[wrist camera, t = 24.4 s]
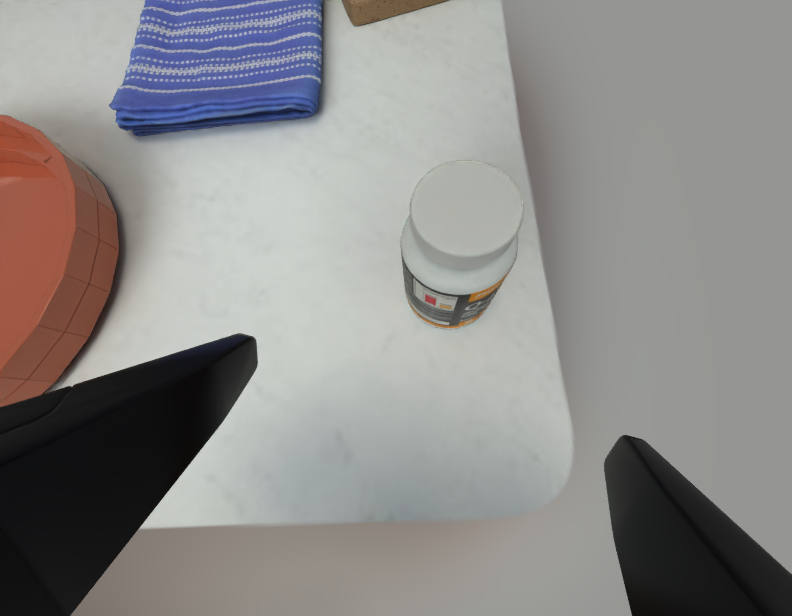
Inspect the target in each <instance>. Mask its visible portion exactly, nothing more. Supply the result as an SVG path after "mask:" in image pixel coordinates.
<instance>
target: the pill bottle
mask: <svg viewBox="0 0 792 616" xmlns="http://www.w3.org/2000/svg"><path fill="white" fill-rule="evenodd" d="M522 218H523V201H522V197H521V195H520V192H519V190H518V188H517V186H516V185H515V183H514V182H513V181H512V180H511V179H510V178H509V177H508V176H507V175H506V174H505V173H504V172H502V171H501V170H499V169H497V168H496V167H494V166H492V165H490V164H487V163H483V162H479V161H472V160H458V161H452V162H448V163H445V164H442V165H440V166H438V167H436V168H434V169H432V170H431V171H430V172H428V173H427V174H426V175H425V176H424V177H423V178H422V179H421V180H420V181H419V183H418V184H417V186H416V187H415V189H414V191H413V194H412V197H411V202H410V215H409V217H408V219H407V221H406V223H405V225H404V228H403V231H402V236H401V253H402V263H403V273H404V283H405V292H406V297H407V300H408V303H409V305H410V307H411V309H412V310H413V312H414V313H415V314H416V315H417V316H418V317H419V318H420V319H421V320H422V321H424V322H425V323H427V324H429V325H431V326H434V327H437V328H442V329H457V328H461V327H464V326H466V325H469V324H471V323H472V322H474V321H475V320H477V319H478V318H479V317H480V316H481V315H482V314H483V313H484V311H485V310H486V308H487V307H488V305H489V304H490V302H491V300H492V299H493V297H494V295H495V294H496V292H497V290H498V289H499V288H500V286H501V284H502V282H503V281H504V279H505V277H506V276H507V274H508V273H509V271H510V269H511V268H512V266H513V264H514V262H515V259H516V256H517V249H518V235H517V232H518V230H519V228H520V226H521V222H522Z"/></svg>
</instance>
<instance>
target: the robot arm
mask: <svg viewBox="0 0 792 616" xmlns="http://www.w3.org/2000/svg"><path fill="white" fill-rule="evenodd" d="M257 364H258V358H257V343H256V339H255V338H254V337H253V336H249V335H245V334H241V333H238V334H235V335H232V336H229V337H225V338H222V339H219V340H216V341H213V342H209V343H206V344H203V345H200V346H197V347H193V348H190V349H187V350H184V351H181V352H177V353H174V354H171V355H168V356H164V357H161V358H158V359H155V360H152V361H148V362H145V363H142V364H139V365H136V366H132V367H129V368H126V369H123V370H120V371H116V372H113V373H110V374H107V375H104V376H100V377H97V378H94V379H91V380H88V381H84V382H81V383H78V384H75V385H74V386H73V387H71V386H68V387H65V388H62V389H59V390H55V391H52V392H49V393H46V394H43V395H39V396H36V397H33V398H29V399H26V400H23V401H19V402H16V403H13V404H9V405H5V406H2V407H0V616H70V615H71V614H72V613H73V611H74V610H75V609H76V608H77V606H78V605H79V604H80V603H81V601H82V600H83V599H84V597H85V596H86V595H87V594H88V592H89V591H90V590H91V589H92V587H93V586H94V585H95V584H96V582H97V581H98V580H99V578H100V577H101V576H102V575H103V573H104V572H105V571H106V570H107V568H108V567H109V566H110V564H111V563H112V562H113V561H114V559H115V558H116V557H117V556H118V554H119V553H120V552H121V550H122V549H123V548H124V547H125V545H126V544H127V543H128V542H129V540H130V539H131V538H132V536H133V535H134V534H135V533H136V531H137V530H138V529H139V528H140V526H141V525H142V524H143V523H144V521H145V520H146V519H147V517H148V516H149V515H150V514H151V512H152V511H153V510H154V509H155V507H156V506H157V505H158V503H159V502H160V501H161V500H162V498H163V497H164V496H165V495H166V493H167V492H168V491H169V489H170V488H171V487H172V486H173V484H174V483H175V482H176V481H177V479H178V478H179V477H180V475H181V474H182V473H183V472H184V470H185V469H186V468H187V467H188V465H189V464H190V463H191V462H192V460H193V459H194V458H195V456H196V455H197V454H198V453H199V451H200V450H201V449H202V448H203V446H204V445H205V444H206V442H207V441H208V440H209V439H210V437H211V436H212V435H213V434H214V432H215V431H216V430H217V428H218V427H219V426H220V425H221V423H222V422H223V421H224V419H225V418H226V416H227V415H228V413H229V412H230V410H231V409H232V407H233V405H234V404H235V402H236V401H237V399H238V397H239V396H240V394H241V393H242V391H243V390H244V388H245V386H246V385H247V383H248V382H249V380H250V379H251V377H252V375H253V374H254V372H255V370H256V368H257ZM604 472H605V480H606V487H607V494H608V502H609V510H610V517H611V525H612V531H613V537H614V542H615V546H616V551H617V555H618V559H619V563H620V567H621V571H622V575H623V580H624V584H625V588H626V592H627V596H628V600H629V605H630V609H631V613H632V616H792V574H791V573H790V572H788V571H787V570H786V569H785V568H784V567H783V566H782V565H781V564H780V563H779V562H777V561H776V560H775V559H774V558H773V557H772V556H771V555H770V554H769V553H767V552H766V551H765V550H764V549H763V548H762V547H761V546H760V545H759V544H758V543H757V542H755V541H754V540H753V539H752V538H751V537H750V536H749V535H748V534H747V533H746V532H745V531H743V530H742V529H741V528H740V527H739V526H738V525H737V524H736V523H735V522H733V521H732V520H731V519H730V518H729V517H728V516H727V515H726V514H725V513H724V512H723V511H721V510H720V509H719V508H718V507H717V506H716V505H715V504H714V503H713V502H712V501H710V500H709V499H708V498H707V497H706V496H705V495H704V494H702V492H701V491H699V490H698V489H697V488H696V487H695V486H694V485H693V484H692V483H691V482H690V481H688V480H687V479H686V478H685V477H684V476H683V475H682V474H681V473H680V472H679V471H678V470H676V469H675V468H674V467H673V466H672V465H671V464H670V463H669V462H668V461H666V460H665V459H664V458H663V457H662V456H661V455H660V454H659V453H658V452H657V451H655V450H654V449H653V448H652V447H651V446H650V445H649V444H648V443H647V442H646V441H644V440H642V439H639V438H635V437H631V436H627V435H623V436H621V437H620V438H619V439H618V440H617V442H616V443H615V445H614V446H613V448H612V449H611V451H610V452H609V454H608V455H607V457H606V459H605V463H604Z"/></svg>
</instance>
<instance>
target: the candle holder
mask: <svg viewBox="0 0 792 616" xmlns="http://www.w3.org/2000/svg"><path fill="white" fill-rule="evenodd" d="M444 1H447V0H342V2H343V4H344V7H345V9H346V12H347V14H348V16H349V18H350V20H351V22H352V24H353V25H362V24H366V23H371V22H374V21H378V20H381V19H385V18H388V17H392V16H395V15H399V14H402V13H406V12H409V11H413V10H416V9H419V8H423V7H426V6H430V5H433V4H437V3H440V2H444Z"/></svg>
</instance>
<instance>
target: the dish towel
mask: <svg viewBox="0 0 792 616" xmlns="http://www.w3.org/2000/svg"><path fill="white" fill-rule="evenodd" d="M322 6H323V0H145V5H144V9H143V10H142V14H141V18H140V25H139V27H138V29H137V34H136V38H135V45H134V46H133V47H132V50H131V59H130V63H129V66H128V68H127V69H126V71H125V72H126V74H125V79H124V81H123V84H122V85H121V86H120V87H119V88H118V89H117V92H116V94H115V96H114V99H113V101H112V103H111V104H109V107H110V108H112V109H113V110H116V111H117V112H116V122H117V123H118V126H119V127H120V128H121V129H124V130H126V131H128V130H133V133H134V134H135V135H136V136H144V135H151V134H160V133H164V132H174V131H183V130H194V129H202V128H210V127H218V126H226V125H235V124H245V123H255V122H265V121H276V120H287V119H301V118H306V117H309V116H311V115H313V114H315V113H316V112H317V110H318V102H319V92H320V87H321V68H322V37H321V34H322Z"/></svg>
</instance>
